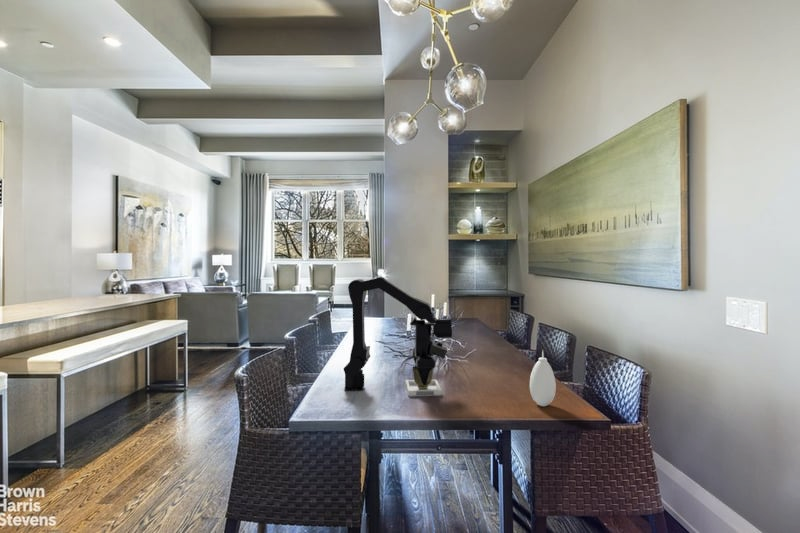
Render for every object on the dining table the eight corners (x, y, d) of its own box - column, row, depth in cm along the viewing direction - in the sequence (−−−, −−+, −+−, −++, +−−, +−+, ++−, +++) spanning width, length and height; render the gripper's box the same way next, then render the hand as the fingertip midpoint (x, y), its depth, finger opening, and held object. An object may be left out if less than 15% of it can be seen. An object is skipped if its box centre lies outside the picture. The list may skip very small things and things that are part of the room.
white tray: (408, 396, 131) (408, 390, 131) (405, 385, 143) (405, 380, 143) (441, 396, 132) (441, 390, 132) (436, 384, 144) (436, 379, 144)
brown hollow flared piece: (409, 390, 136) (409, 368, 135) (416, 384, 142) (416, 363, 142) (429, 393, 133) (429, 370, 133) (435, 387, 140) (435, 365, 139)
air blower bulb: (525, 401, 127) (526, 347, 127) (548, 400, 128) (548, 347, 128) (535, 410, 120) (536, 353, 119) (559, 409, 120) (560, 352, 120)
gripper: (450, 342, 128) (450, 388, 129) (441, 332, 147) (440, 372, 147) (417, 343, 128) (417, 389, 128) (412, 332, 146) (412, 373, 147)
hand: (422, 380), depth 137 cm, fingers open, 9 cm apart
